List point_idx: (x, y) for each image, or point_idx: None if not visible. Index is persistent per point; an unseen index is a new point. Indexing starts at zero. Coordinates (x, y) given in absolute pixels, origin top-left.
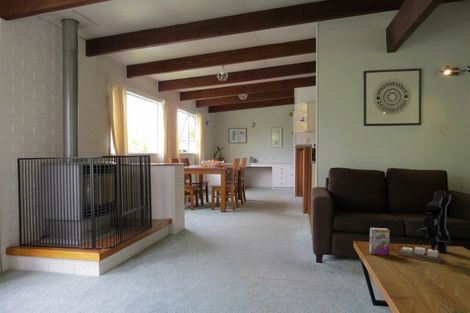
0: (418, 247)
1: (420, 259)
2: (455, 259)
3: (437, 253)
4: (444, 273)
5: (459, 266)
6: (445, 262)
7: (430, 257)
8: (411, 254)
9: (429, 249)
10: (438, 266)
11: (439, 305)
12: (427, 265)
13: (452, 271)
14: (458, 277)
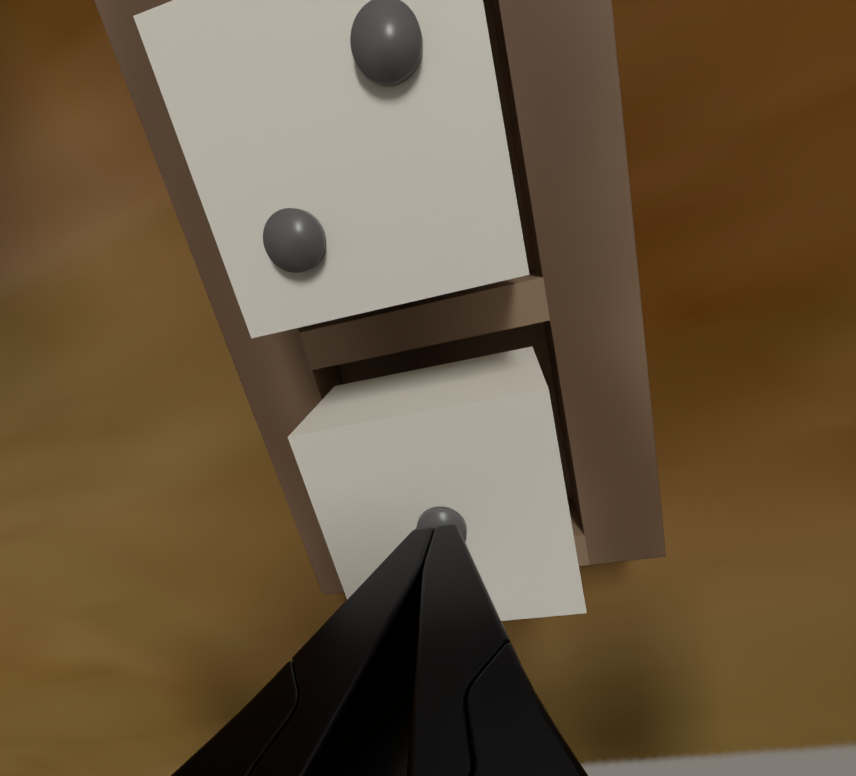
0: (372, 65)
1: None
2: (820, 647)
3: None
4: (37, 663)
5: None
6: None
7: (287, 461)
8: (125, 58)
9: (505, 422)
10: (200, 568)
11: None
12: (84, 462)
13: (188, 703)
14: (75, 759)
